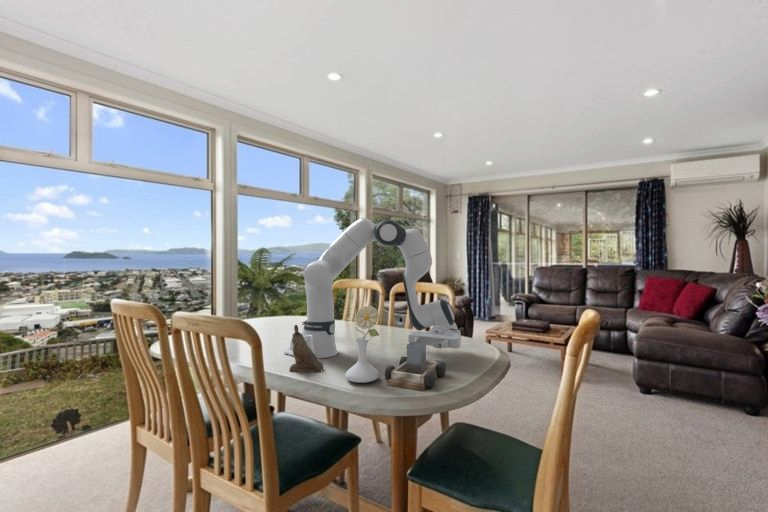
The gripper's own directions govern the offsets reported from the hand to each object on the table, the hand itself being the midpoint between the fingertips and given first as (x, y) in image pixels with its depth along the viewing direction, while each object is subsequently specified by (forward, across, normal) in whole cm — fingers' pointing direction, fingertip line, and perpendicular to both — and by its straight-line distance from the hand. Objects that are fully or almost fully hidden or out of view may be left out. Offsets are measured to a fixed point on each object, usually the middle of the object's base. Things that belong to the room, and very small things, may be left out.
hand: (428, 343), depth 137 cm
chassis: (+12, 0, +9) cm, 15 cm away
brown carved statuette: (+20, -39, +9) cm, 45 cm away
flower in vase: (+21, -15, +9) cm, 28 cm away
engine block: (+12, 0, +8) cm, 14 cm away
